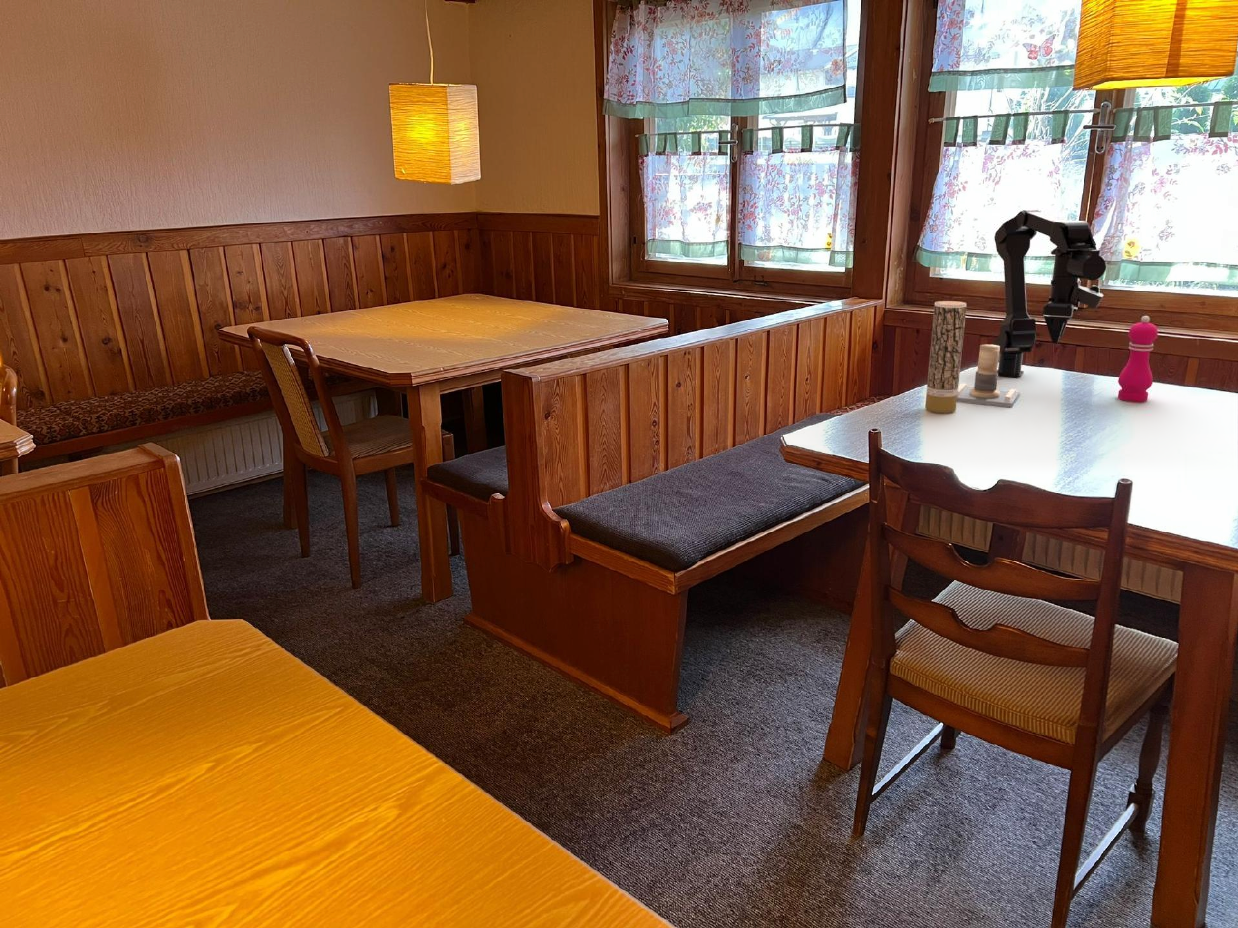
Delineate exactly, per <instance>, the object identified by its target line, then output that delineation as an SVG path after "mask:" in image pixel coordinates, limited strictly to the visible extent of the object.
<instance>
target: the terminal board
mask: <svg viewBox="0 0 1238 928" xmlns="http://www.w3.org/2000/svg"><path fill="white" fill-rule="evenodd" d="M973 388H974V387H971V386H967V383H960V385H958V394H957V403H966V404H974V405H975V404H977V405H983V406H984V405H985V406H995V407H1003V408H1012V407H1013V406H1014V404H1015V403H1016V402H1017V400H1018V399H1019V397H1020V395H1021V393H1020V391H1017V388H1011V387H1010V389H1009V390H1003V389H1002V390H1001V389H997V390H998V391H1000V396H999V397H998V398H978V397H974V396H971V395H970V389H973Z"/></svg>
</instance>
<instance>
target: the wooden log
mask: <svg viewBox="0 0 1238 928" xmlns="http://www.w3.org/2000/svg"><path fill="white" fill-rule="evenodd" d="M966 313H967V302H964V301H958V300H957V301H956V300H955V301H954V300H942V301H941V300H939V301H935V302H934V306H933V315H932V316H933V317H932V328H931V329H932V330H931V340H930V351H929V363H928V373H927V383H926V396H925V409H926V410H927V411H928V412H931V413H934V414H951V413H953V412H955V411H956V409H957V403H958V402H957V394H958V387H959V383H960V374H961V362H962V352H963V343H964V333H965V326H966V325H965V324H966V316H967V315H966Z"/></svg>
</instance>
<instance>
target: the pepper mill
mask: <svg viewBox="0 0 1238 928" xmlns="http://www.w3.org/2000/svg"><path fill="white" fill-rule="evenodd" d="M1150 320H1151V318H1150V317H1149V316H1148V315H1143V316H1142V317H1141V319H1140V321H1139V322H1137V323H1134V324H1133V325H1131V327H1130V328H1129V331H1128V338H1129V339H1130V342H1129V344H1128V345H1129V346H1128V349H1129V350H1130V352H1129V353H1130V354H1129V359H1128V362H1127V363H1126V364H1125V366H1124V368H1123V369H1122V370H1121V372H1120V374H1119V376H1118V381H1117V383H1118V385H1119V386H1120V388H1121V389H1119V390H1118V392H1117V393H1118V394H1117V399H1119V400H1121V401H1125V402H1134V403H1142V402H1146V400H1148V398H1149V392H1148V389H1150V388H1151V387H1152V386H1153V379H1154V378H1153V373H1152V371H1151V368H1150V362H1149V360H1150V353H1151V351H1153V350H1154V343H1153V342H1155V340H1156V339H1157V338H1158V334H1159V330H1158V328H1157V326H1156V325H1155V324H1153V323H1151V322H1150Z"/></svg>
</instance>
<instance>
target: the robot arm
mask: <svg viewBox="0 0 1238 928" xmlns="http://www.w3.org/2000/svg"><path fill="white" fill-rule="evenodd" d="M1037 232H1038V233H1039V234H1040V233H1041V235H1042V234H1043V235H1045V236H1047V237H1049V241H1050V242H1051V243H1052V244H1053V245H1055V246H1056V247H1055V248H1054V249H1052V250H1051V251H1050V254H1051V255H1053V256H1054V264H1053V272H1052V279H1051V280H1050V285H1051V286H1050V287H1051V288H1050V295H1049V297H1048V300H1047V301H1048V302H1047V303H1046V304H1045V305H1043V309H1042V315H1043V319H1044V321H1045V324H1046V326H1047V327H1046V328H1047V330H1048V333H1049V336H1050V339H1051V343H1052V344H1058V343H1059V340H1060V338H1062V337H1063V335H1064V332H1065V329H1066V327H1067V324H1068V322H1069V320H1070V319H1072V317H1073V314H1074V313H1075V312H1076V311H1078V308H1079V306H1080V304H1083V305H1085V306H1088V307H1089V308H1091V309H1093V310H1097V307H1098V306H1099V305H1100V302H1101V301H1102V299H1103V297H1104V294H1103V293H1102V292H1100V286H1097V285H1094V284H1092V286H1090V287H1089V288H1088V286H1087V287H1085V286H1082V285H1081V280H1087V281H1092V282H1093V281H1096V280H1098V279H1100V278H1102V276H1103V275H1104V273H1105V271H1106V269H1107V264H1106V261H1105V260H1104V258H1103V257H1102V256H1101V255H1100V253H1101V251H1100V249H1097V246H1096V245H1097V243H1096V241H1095V239H1094V236H1093V233H1092V229H1091V227H1090V224H1089V222H1087V220H1086V221H1085V220H1064V219H1061V218H1057V217H1056V216H1052V215H1050V214H1046V213H1044V212H1042V211H1041V210H1039V209H1023V210H1021V211H1019V212H1018V213H1017V214H1016V215H1015V216H1013V217H1012V218H1010V219H1008V220H1007V221H1005V222H1004V223H1003V222H1002V225H1001V226H1000V227H999V228H997V230H996V232H995V233H994V238H993V239H994V242H995V248H996V249H995V250H996V252H997V254H998V255H999V256H1000V258H1001V259H1002V261H1003V269H1004V271H1003V272H1004V292H1005V293H1004V294H1005V296H1004V297H1005V313H1006V314H1005V317H1004V319H1003V322H1002V323H1001V324H1000V326H999V327H1000V328H999V329H1000V331H999V332H1000V333H999V334H998V336H996V338H995V339H994V340H993V342H992V343H991V345H998V346H1000V351H999V359H998V368H997V373H998V377H1000V376H1001V377H1009V378H1010V377H1012V378H1022V376H1023V375H1024V370H1022V367H1023V366H1022V363H1023V356H1024V353H1026V354H1027V353H1029V354H1030V353H1032V350H1033V348H1034V345H1035V342H1036V340H1037V334H1038V333H1037V328H1036V319H1035V318H1034V317H1033V318H1031V316H1030V315H1029V313H1028V312H1027V309H1028V308H1027V293H1026V272H1025V271H1026V270H1025V268H1026V267H1025V257H1026V255H1027V254H1028V252H1029V250H1030V248H1031V240H1033V238H1035V236H1036V235H1038V233H1037ZM1080 279H1081V280H1080Z"/></svg>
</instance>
